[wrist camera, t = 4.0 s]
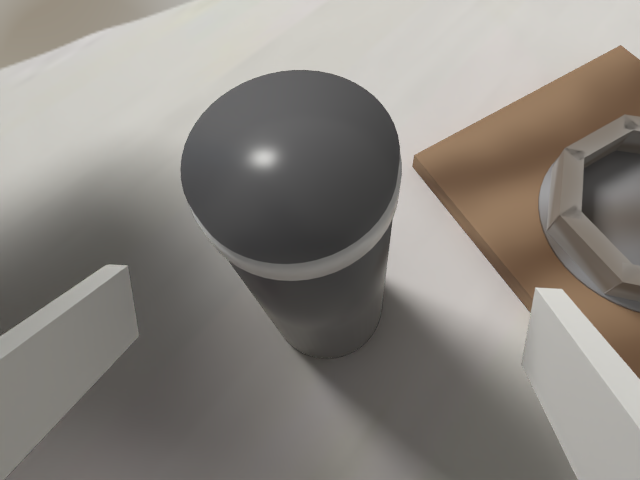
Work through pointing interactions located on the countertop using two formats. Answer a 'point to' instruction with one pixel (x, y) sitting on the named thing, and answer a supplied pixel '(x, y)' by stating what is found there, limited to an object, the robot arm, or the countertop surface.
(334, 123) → the dome-topped grey cylinder
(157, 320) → the countertop surface
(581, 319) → the robot arm
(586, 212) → the mount board
